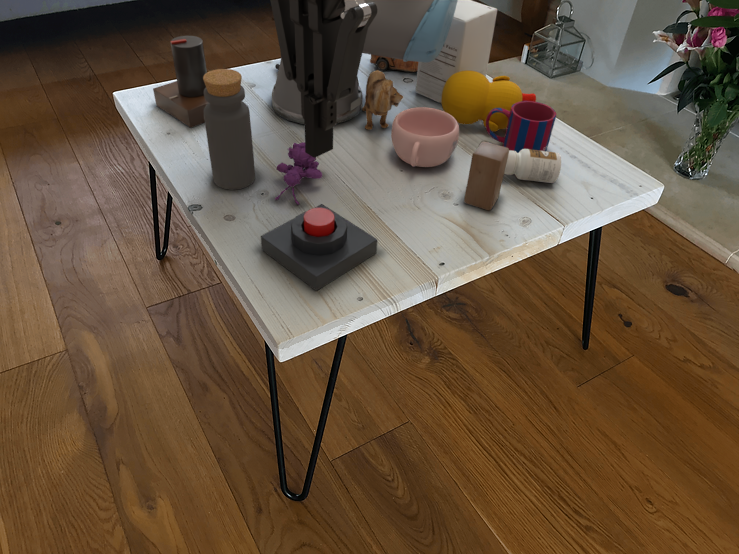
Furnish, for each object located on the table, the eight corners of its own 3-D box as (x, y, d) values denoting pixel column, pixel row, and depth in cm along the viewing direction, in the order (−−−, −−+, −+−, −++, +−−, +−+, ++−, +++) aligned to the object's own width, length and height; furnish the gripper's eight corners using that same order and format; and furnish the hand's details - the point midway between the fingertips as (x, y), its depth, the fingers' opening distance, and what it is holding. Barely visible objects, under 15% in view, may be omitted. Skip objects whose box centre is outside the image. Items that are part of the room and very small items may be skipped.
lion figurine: (401, 139, 96) (406, 85, 90) (368, 141, 95) (371, 86, 89) (382, 97, 106) (385, 46, 100) (352, 98, 106) (353, 47, 99)
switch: (297, 227, 72) (297, 215, 71) (320, 215, 74) (320, 203, 73) (318, 241, 70) (318, 229, 69) (340, 228, 72) (340, 217, 71)
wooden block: (462, 203, 84) (472, 152, 78) (472, 189, 86) (481, 139, 81) (490, 212, 82) (501, 161, 77) (499, 197, 85) (510, 147, 80)
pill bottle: (564, 151, 85) (510, 144, 85) (559, 182, 86) (505, 176, 85) (553, 154, 90) (502, 148, 89) (549, 184, 90) (498, 178, 90)
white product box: (445, 78, 113) (456, -7, 103) (483, 94, 109) (500, 8, 99) (413, 92, 108) (422, 4, 98) (452, 110, 104) (466, 20, 94)
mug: (399, 135, 97) (402, 100, 93) (460, 147, 95) (466, 113, 91) (377, 173, 88) (379, 137, 84) (444, 188, 86) (449, 151, 82)
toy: (533, 93, 102) (446, 75, 103) (545, 74, 94) (450, 55, 94) (521, 145, 102) (434, 127, 103) (533, 131, 93) (437, 111, 94)
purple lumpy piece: (330, 142, 84) (311, 163, 77) (328, 184, 87) (309, 208, 81) (285, 134, 85) (262, 154, 79) (285, 175, 89) (263, 198, 82)
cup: (541, 166, 92) (553, 125, 87) (477, 151, 94) (485, 111, 90) (548, 145, 97) (559, 106, 92) (486, 132, 99) (494, 93, 94)
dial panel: (156, 105, 100) (152, 87, 98) (202, 90, 105) (199, 72, 103) (190, 128, 95) (187, 109, 93) (237, 110, 100) (235, 92, 98)
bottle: (220, 194, 82) (206, 89, 72) (208, 172, 86) (192, 70, 76) (261, 184, 85) (252, 82, 75) (247, 163, 88) (237, 63, 78)
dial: (203, 82, 101) (196, 31, 95) (213, 93, 98) (206, 42, 92) (174, 87, 99) (165, 36, 93) (184, 99, 96) (175, 47, 90)
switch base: (261, 249, 74) (259, 223, 72) (321, 217, 80) (321, 191, 77) (316, 291, 69) (316, 264, 67) (376, 253, 75) (378, 227, 72)
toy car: (372, 58, 119) (374, 22, 114) (433, 64, 118) (437, 28, 114) (368, 71, 114) (370, 34, 109) (432, 77, 113) (436, 40, 109)
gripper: (230, -113, 50) (253, 139, 66) (338, -80, 44) (335, 189, 60) (298, -122, 55) (305, 117, 71) (406, -93, 48) (387, 162, 64)
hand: (319, 150), depth 65 cm, fingers closed
